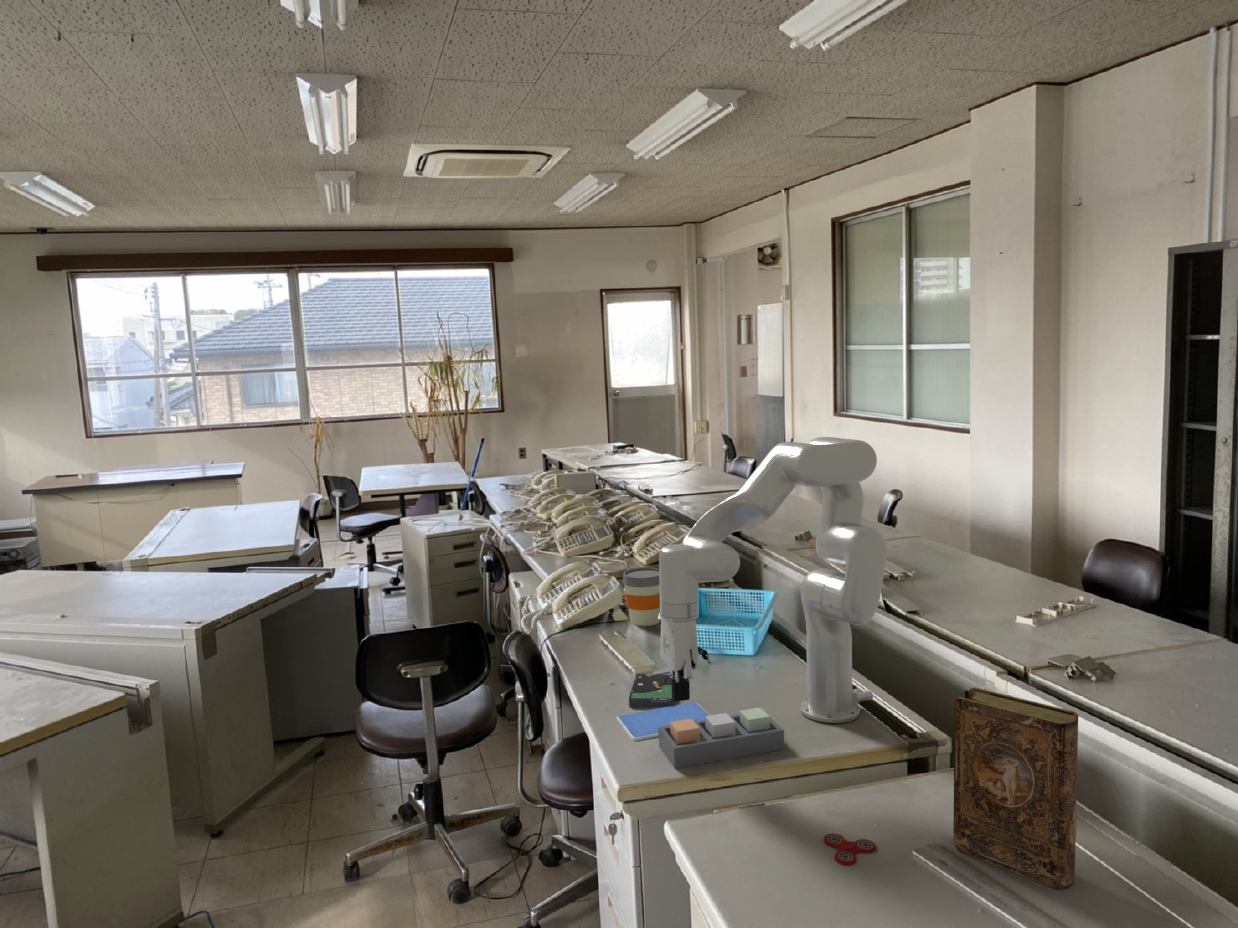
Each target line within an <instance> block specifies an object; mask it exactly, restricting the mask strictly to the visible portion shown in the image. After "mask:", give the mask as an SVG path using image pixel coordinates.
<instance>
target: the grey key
mask: <svg viewBox="0 0 1238 928" xmlns="http://www.w3.org/2000/svg"><path fill="white" fill-rule="evenodd" d="M709 715H710V716H705V727H706V729H707V730H708V732H709V733H710V734H711V735H712V736H713V737H714V738H715V737H721V736H727V735H732V734H735V721H734V720H733V719H732V718H731V717H730V716H731V715H729V714H728V713H727V712H723V713H717V714H709Z"/></svg>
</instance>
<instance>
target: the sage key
mask: <svg viewBox="0 0 1238 928" xmlns="http://www.w3.org/2000/svg"><path fill="white" fill-rule="evenodd" d="M739 714H740V723H741V724H742V725H743V726H744V727H745V728H746V729H747V730H748V731H749V732H750V731H756V730H762V729H768V728H770V718H771V716H770V715H769V714H768V713H767V712H766V711H765V710H764V709H763V708H762V707H755V708H748V709H743V710H739Z"/></svg>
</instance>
